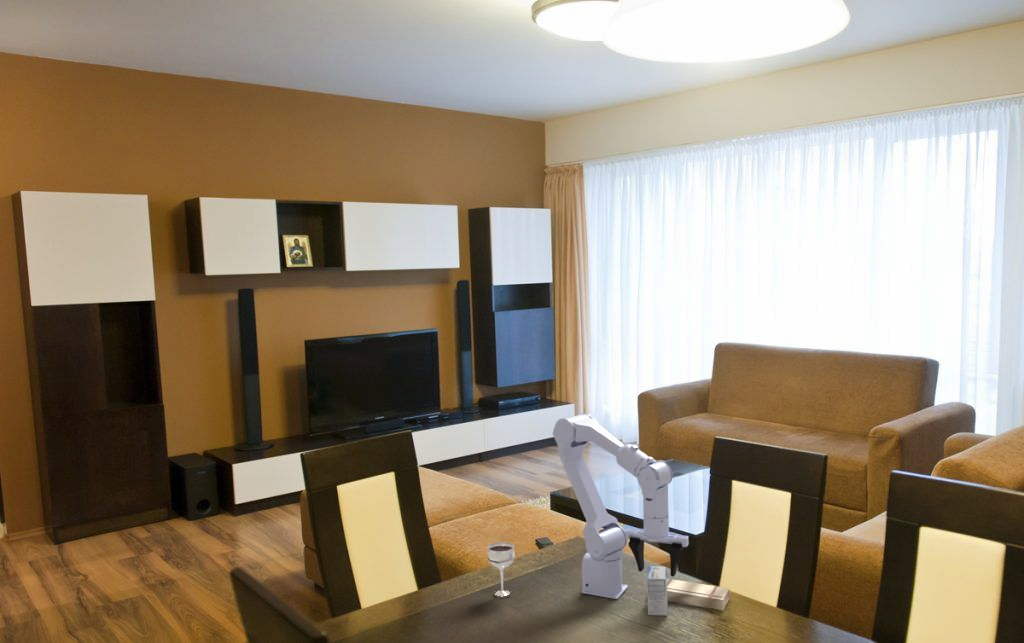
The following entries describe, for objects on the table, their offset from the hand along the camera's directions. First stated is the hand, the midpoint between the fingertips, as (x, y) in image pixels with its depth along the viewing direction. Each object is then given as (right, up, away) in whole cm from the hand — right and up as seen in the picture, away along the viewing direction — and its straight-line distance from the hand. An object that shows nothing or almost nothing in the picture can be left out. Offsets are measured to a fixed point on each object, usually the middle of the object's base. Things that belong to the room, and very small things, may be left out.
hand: (657, 572), depth 178 cm
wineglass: (-36, -9, +11) cm, 39 cm away
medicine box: (0, -9, +1) cm, 9 cm away
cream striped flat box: (+8, -8, +6) cm, 13 cm away
